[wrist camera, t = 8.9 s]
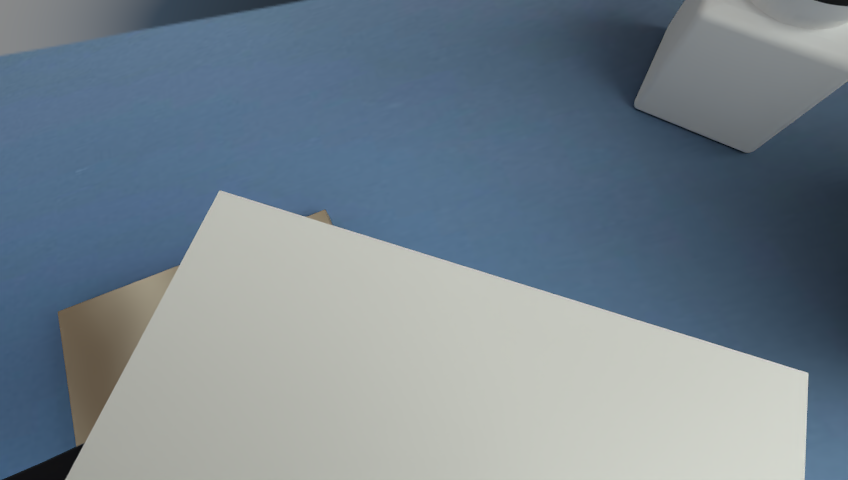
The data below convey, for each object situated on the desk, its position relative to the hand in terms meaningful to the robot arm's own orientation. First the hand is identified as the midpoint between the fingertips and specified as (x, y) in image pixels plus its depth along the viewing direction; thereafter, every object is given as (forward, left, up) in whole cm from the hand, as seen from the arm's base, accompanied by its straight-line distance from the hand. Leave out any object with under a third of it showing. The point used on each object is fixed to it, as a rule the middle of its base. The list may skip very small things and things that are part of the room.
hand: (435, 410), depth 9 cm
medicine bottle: (+22, +10, -13) cm, 28 cm away
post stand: (-9, +4, -13) cm, 16 cm away
